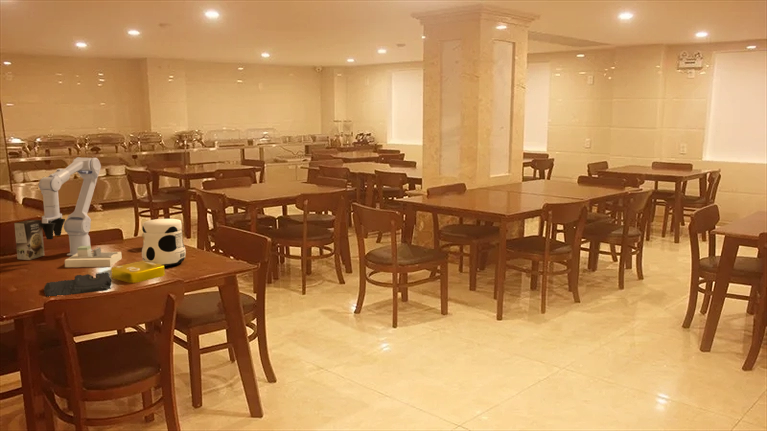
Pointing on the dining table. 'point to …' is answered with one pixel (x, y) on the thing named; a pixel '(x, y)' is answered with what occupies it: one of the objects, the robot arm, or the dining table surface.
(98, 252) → the shutter
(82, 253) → the plug
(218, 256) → the dining table surface
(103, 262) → the socket
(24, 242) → the coffee box
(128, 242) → the dining table surface
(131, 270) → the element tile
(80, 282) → the dark slate chunk
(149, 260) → the milk container
